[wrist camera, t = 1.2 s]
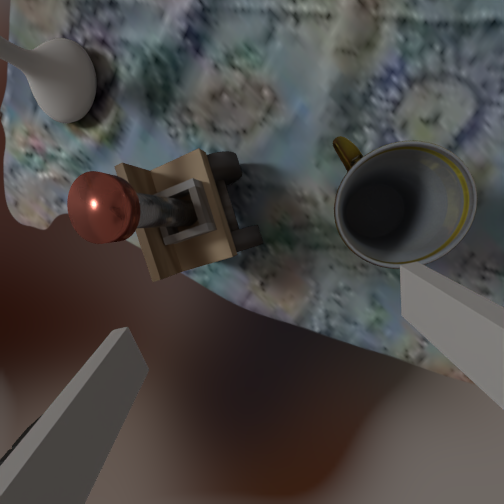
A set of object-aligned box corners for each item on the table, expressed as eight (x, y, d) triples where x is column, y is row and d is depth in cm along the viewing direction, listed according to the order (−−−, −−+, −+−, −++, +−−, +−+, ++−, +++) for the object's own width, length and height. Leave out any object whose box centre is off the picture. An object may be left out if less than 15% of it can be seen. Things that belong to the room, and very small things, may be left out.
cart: (242, 157, 31) (201, 123, 20) (268, 243, 32) (242, 256, 21) (179, 183, 34) (114, 166, 23) (204, 262, 35) (152, 282, 24)
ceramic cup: (440, 217, 26) (511, 215, 17) (362, 268, 29) (384, 292, 20) (366, 129, 27) (393, 80, 18) (297, 188, 30) (288, 173, 21)
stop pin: (199, 185, 25) (110, 159, 14) (211, 227, 26) (133, 232, 15) (164, 200, 27) (58, 186, 16) (176, 239, 27) (81, 252, 16)
